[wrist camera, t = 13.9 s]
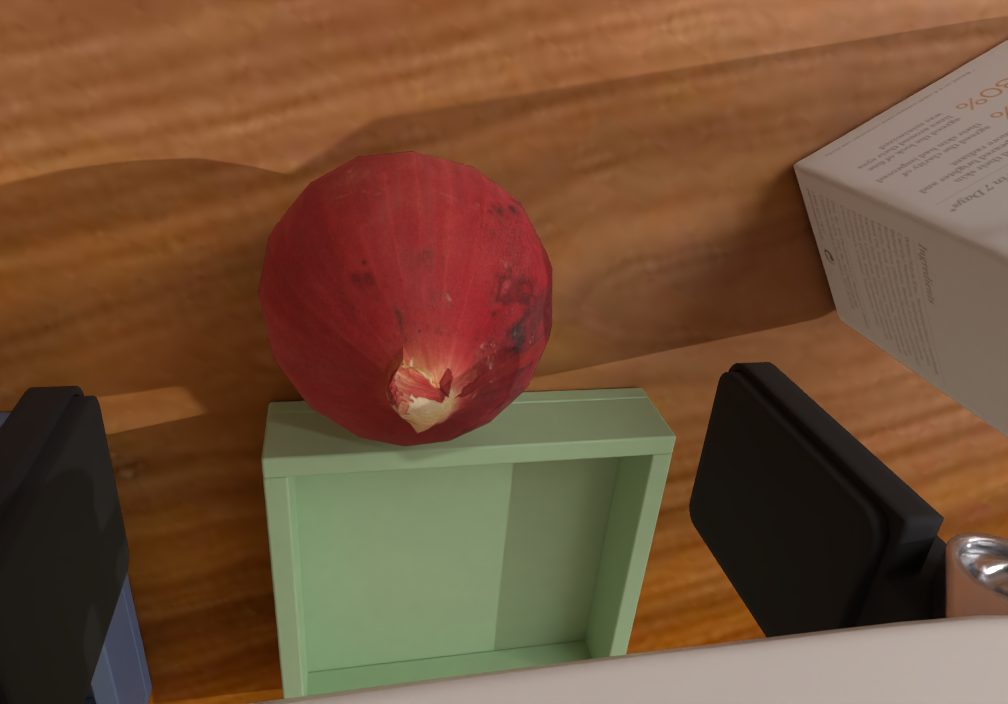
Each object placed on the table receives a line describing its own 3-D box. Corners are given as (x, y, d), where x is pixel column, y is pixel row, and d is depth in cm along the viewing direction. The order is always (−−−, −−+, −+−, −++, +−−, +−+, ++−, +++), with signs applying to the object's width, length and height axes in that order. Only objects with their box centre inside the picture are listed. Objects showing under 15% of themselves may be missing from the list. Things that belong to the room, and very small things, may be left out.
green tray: (268, 400, 20) (260, 459, 17) (642, 386, 22) (677, 436, 20) (290, 670, 25) (286, 742, 22) (592, 635, 27) (616, 697, 25)
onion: (506, 106, 17) (622, 213, 10) (515, 324, 20) (611, 521, 13) (250, 129, 16) (193, 262, 9) (297, 353, 19) (279, 581, 12)
